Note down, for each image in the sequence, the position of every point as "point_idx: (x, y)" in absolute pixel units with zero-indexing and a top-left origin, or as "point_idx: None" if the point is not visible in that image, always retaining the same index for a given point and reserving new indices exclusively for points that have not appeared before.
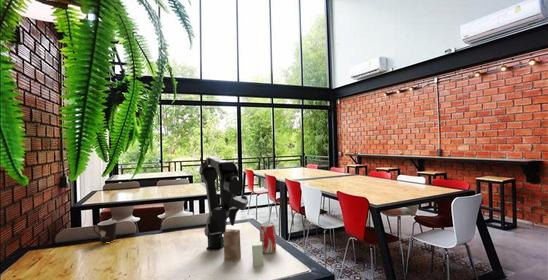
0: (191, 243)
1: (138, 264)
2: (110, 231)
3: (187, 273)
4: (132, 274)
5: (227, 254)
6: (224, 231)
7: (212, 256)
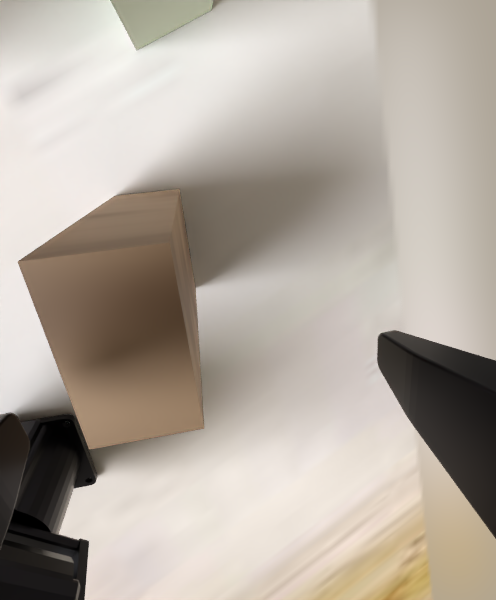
0: None
1: (341, 569)
2: None
3: None
4: (417, 525)
5: (192, 279)
6: (406, 340)
7: None
